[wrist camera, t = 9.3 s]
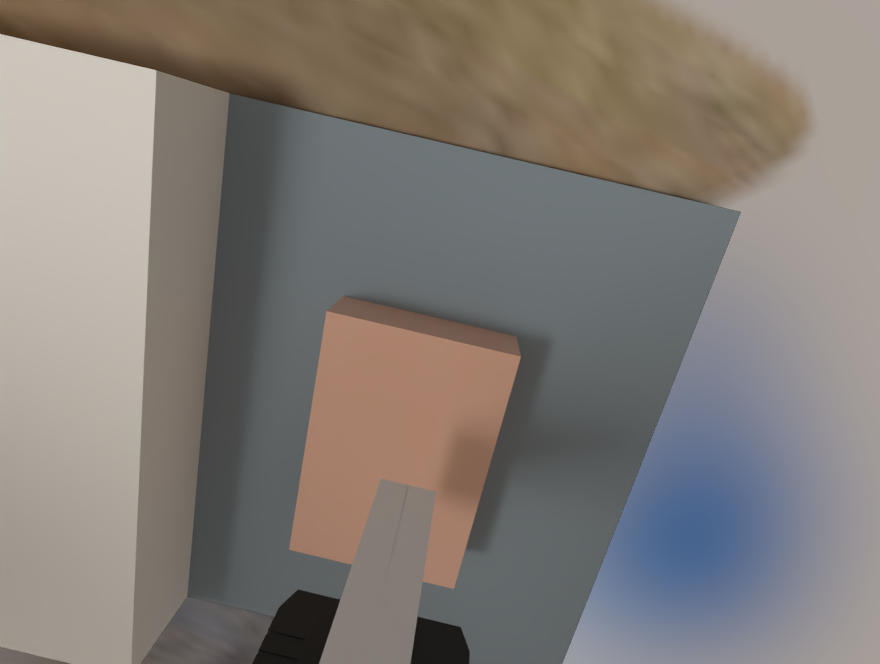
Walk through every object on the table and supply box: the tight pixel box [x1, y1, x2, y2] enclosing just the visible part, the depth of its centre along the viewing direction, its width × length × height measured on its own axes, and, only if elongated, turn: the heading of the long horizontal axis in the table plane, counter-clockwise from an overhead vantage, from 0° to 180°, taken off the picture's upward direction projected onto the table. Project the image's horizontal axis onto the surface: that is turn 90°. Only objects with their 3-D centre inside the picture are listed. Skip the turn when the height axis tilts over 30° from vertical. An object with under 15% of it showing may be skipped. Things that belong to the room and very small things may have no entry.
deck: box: [0, 34, 229, 664], centre depth 17 cm, size 20×12×4 cm, turn 168°
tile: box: [289, 296, 521, 589], centre depth 18 cm, size 9×6×2 cm, turn 168°
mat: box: [187, 93, 741, 664], centre depth 19 cm, size 20×16×1 cm
